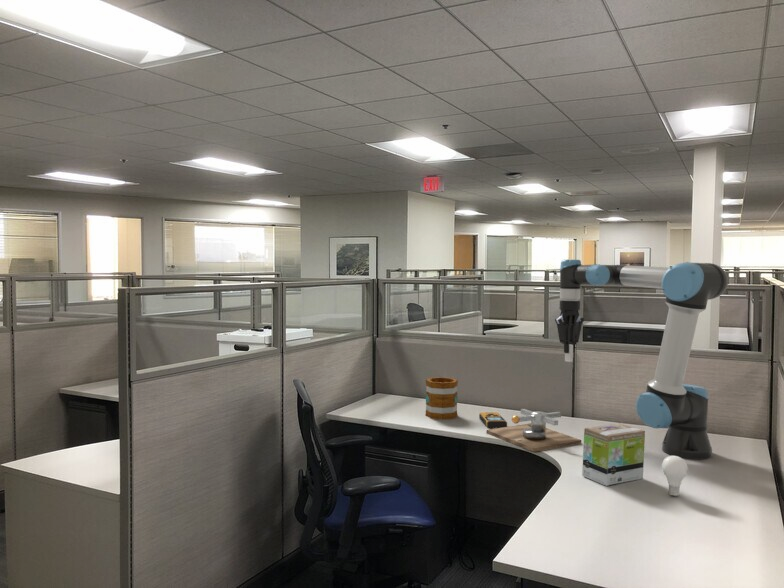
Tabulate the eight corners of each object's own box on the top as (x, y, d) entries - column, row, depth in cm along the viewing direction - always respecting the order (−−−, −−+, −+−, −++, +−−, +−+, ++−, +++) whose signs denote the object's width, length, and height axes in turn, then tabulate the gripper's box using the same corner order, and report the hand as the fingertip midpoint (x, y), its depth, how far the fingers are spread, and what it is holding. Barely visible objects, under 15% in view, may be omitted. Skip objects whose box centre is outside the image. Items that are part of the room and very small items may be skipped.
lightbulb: (685, 502, 159) (686, 461, 158) (659, 497, 162) (660, 457, 162) (688, 494, 164) (689, 455, 164) (662, 490, 168) (664, 451, 167)
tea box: (607, 487, 169) (608, 435, 169) (581, 476, 178) (582, 427, 178) (644, 479, 176) (645, 429, 176) (617, 469, 185) (618, 421, 185)
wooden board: (581, 443, 212) (581, 439, 212) (533, 451, 202) (533, 447, 202) (531, 426, 235) (531, 422, 235) (486, 433, 225) (486, 429, 225)
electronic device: (498, 419, 248) (498, 411, 248) (507, 429, 232) (508, 420, 232) (478, 419, 247) (478, 411, 247) (486, 429, 232) (486, 420, 231)
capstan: (542, 426, 228) (542, 405, 228) (577, 440, 211) (577, 416, 211) (496, 432, 220) (497, 410, 219) (529, 446, 202) (529, 422, 202)
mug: (459, 419, 244) (459, 383, 244) (426, 419, 245) (426, 383, 244) (454, 408, 264) (455, 374, 263) (424, 408, 264) (424, 374, 264)
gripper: (575, 299, 235) (574, 359, 236) (550, 299, 229) (548, 361, 230) (589, 300, 228) (588, 361, 229) (564, 300, 222) (563, 364, 223)
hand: (568, 361), depth 230 cm, fingers closed
